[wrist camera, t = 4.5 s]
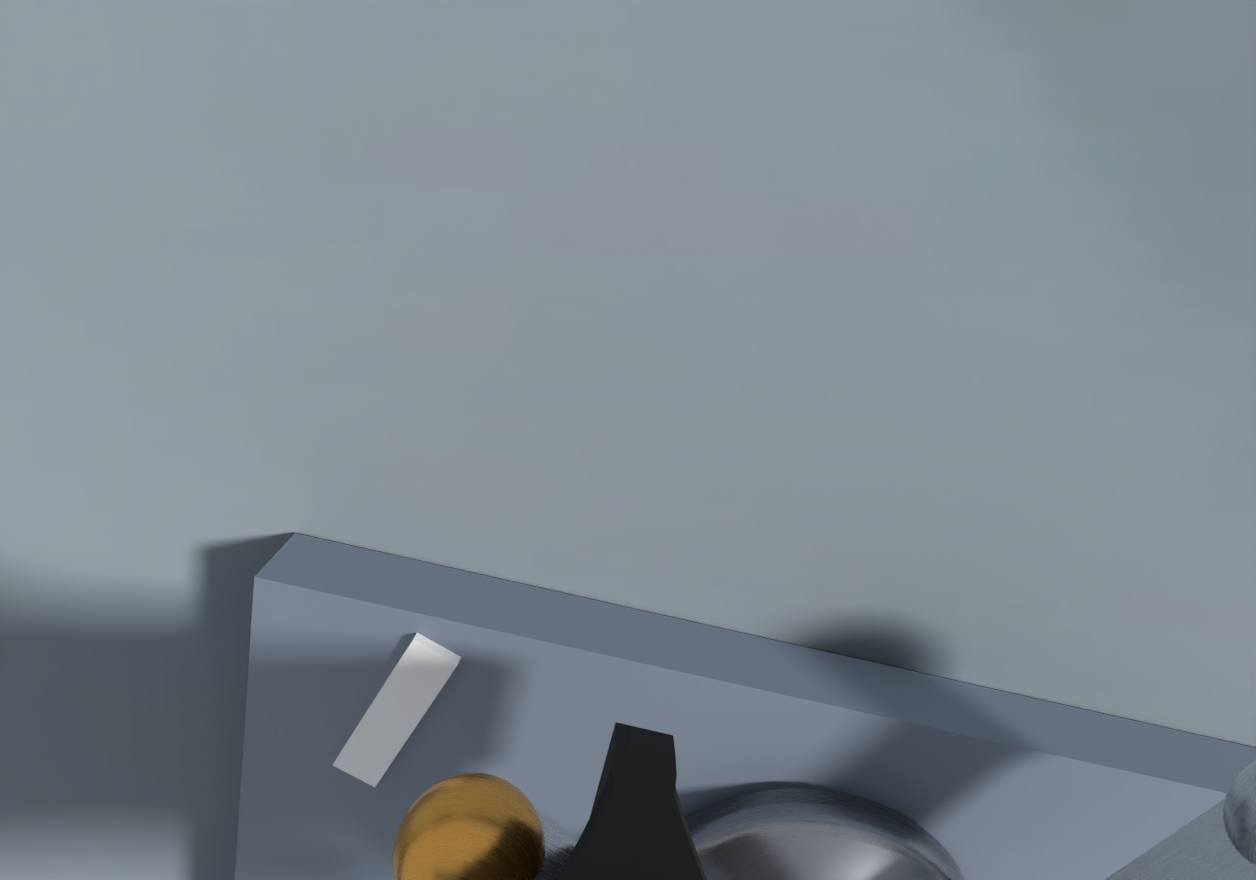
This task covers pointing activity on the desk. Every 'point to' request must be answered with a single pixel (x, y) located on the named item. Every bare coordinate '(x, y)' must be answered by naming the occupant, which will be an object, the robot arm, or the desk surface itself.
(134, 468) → the desk surface
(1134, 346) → the desk surface
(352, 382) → the desk surface
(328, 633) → the grey panel with crank
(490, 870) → the capstan
